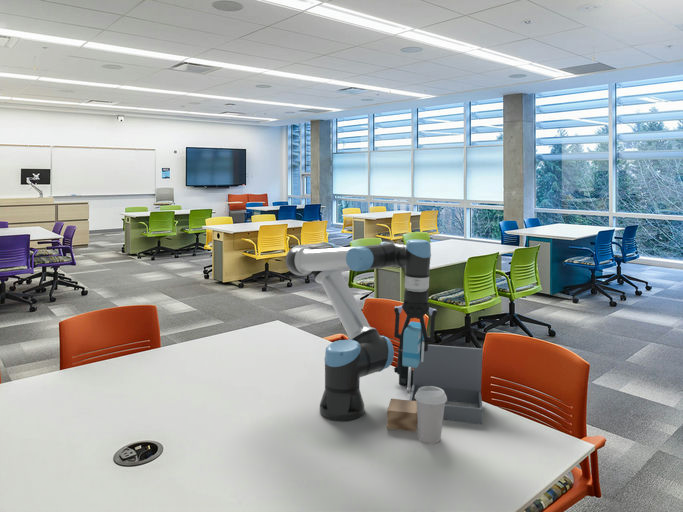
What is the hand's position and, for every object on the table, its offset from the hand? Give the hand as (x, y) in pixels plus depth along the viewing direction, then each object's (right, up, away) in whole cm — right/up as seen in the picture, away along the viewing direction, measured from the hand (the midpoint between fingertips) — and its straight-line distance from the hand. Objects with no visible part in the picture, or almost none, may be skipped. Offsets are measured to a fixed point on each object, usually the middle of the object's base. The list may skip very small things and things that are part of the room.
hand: (412, 359), depth 162 cm
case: (+12, -19, +10) cm, 25 cm away
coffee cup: (+4, -22, -10) cm, 24 cm away
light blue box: (0, -1, 0) cm, 1 cm away
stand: (-3, -21, 0) cm, 21 cm away
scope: (+2, -16, +32) cm, 36 cm away
